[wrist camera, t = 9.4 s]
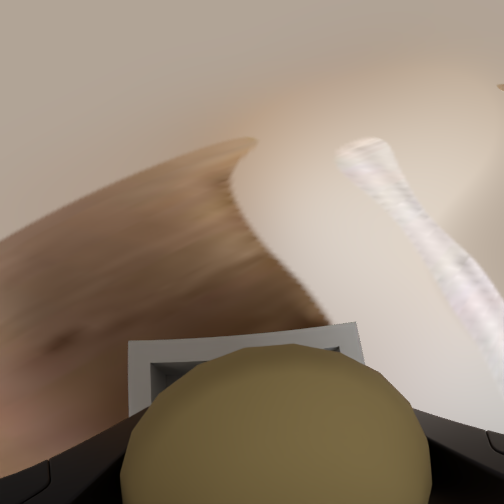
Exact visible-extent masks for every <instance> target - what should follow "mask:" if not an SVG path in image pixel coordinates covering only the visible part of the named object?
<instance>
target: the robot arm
mask: <svg viewBox="0 0 504 504" xmlns="http://www.w3.org/2000/svg"><path fill="white" fill-rule="evenodd" d="M149 407H150V406H149ZM149 407H146V408H144V409H143V410H141V411H139V412H138V413H136V414H134V415H132V416H130V417H129V418H127V419H125V420H123V421H122V422H120V423H118V424H116V425H114V426H112V427H111V428H109V429H107V430H105V431H103V432H101V433H100V434H98V435H96V436H94V437H92V438H90V439H88V440H86V441H84V442H82V443H80V444H79V445H77V446H75V447H73V448H71V449H69V450H67V451H65V452H63V453H61V454H59V455H56V456H54V457H52V458H50V459H49V461H48V460H45V461H43V462H41V463H39V464H36V465H34V466H32V467H29V468H27V469H25V470H22V471H20V472H18V473H15V474H12V475H9V476H6V477H3V478H0V504H123V501H122V492H121V482H120V472H121V468H122V465H123V461H124V457H125V454H126V450H127V446H128V443H129V439H130V436H131V432H132V430H133V429H134V428H135V426H136V425H137V423H138V422H139V421H140V419H141V418H142V416H143V415H144V414H145V412H146V411H147V410H148V408H149ZM412 409H413V408H412ZM413 411H414V413H415V415H416V417H417V419H418V421H419V423H420V425H421V427H422V429H423V431H424V434H425V436H426V438H427V441H428V445H429V454H430V464H431V475H432V488H431V492H430V496H429V501H428V504H504V434H500V433H496V432H492V431H485V430H483V429H479V428H476V427H472V426H468V425H465V424H461V423H458V422H454V421H451V420H448V419H445V418H441V417H438V416H435V415H432V414H429V413H426V412H423V411H419V410H417V409H413Z"/></svg>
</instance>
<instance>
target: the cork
mask: <svg viewBox="0 0 504 504" xmlns="http://www.w3.org/2000/svg"><path fill="white" fill-rule="evenodd" d="M120 482H121V492H122V501H123V504H428V501H429V496H430V492H431V488H432V475H431V464H430V454H429V445H428V441H427V438H426V436H425V434H424V431H423V429H422V427H421V425H420V423H419V421H418V419H417V417H416V415H415V413H414V411H413V409H412V407H411V405H410V403H409V402H408V401H407V400H406V399H405V398H404V396H403V395H402V394H400V392H399V391H398V390H397V389H396V388H395V387H394V386H393V385H392V384H391V383H390V382H388V380H387V379H386V378H384V377H383V375H382V374H381V373H379V372H377V371H376V370H373V369H372V368H370V367H368V366H366V365H364V364H362V363H360V362H358V361H356V360H354V359H352V358H350V357H348V356H346V355H344V354H342V353H341V352H336V351H330V350H325V349H319V348H314V347H309V346H304V345H299V344H294V343H293V344H283V345H271V346H259V347H245V348H242V349H240V350H237V351H234V352H232V353H229V354H226V355H224V356H221V357H218V358H215V359H213V360H210V361H207V362H204V363H201V364H199V365H197V366H196V367H194V368H193V369H192V370H190V371H189V372H188V373H186V374H185V375H184V376H182V377H181V378H180V379H178V380H177V381H175V382H174V383H173V384H171V385H170V386H169V387H167V388H166V389H165V390H163V391H162V392H160V393H159V394H158V396H157V397H156V398H155V400H154V401H153V403H152V404H151V405H150V407H149V408H148V410H147V411H146V412H145V414H144V415H143V416H142V418H141V419H140V421H139V422H138V423H137V425H136V426H135V428H134V429H133V430H132V432H131V436H130V439H129V443H128V446H127V450H126V454H125V457H124V461H123V465H122V468H121V472H120Z"/></svg>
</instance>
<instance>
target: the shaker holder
mask: <svg viewBox="0 0 504 504" xmlns="http://www.w3.org/2000/svg"><path fill="white" fill-rule="evenodd" d="M293 343H294V344H299V345H304V346H309V347H314V348H319V349H325V350H330V351H336V352H341V353H342V354H344V355H346V356H348V357H350V358H352V359H354V360H356V361H358V362H360V363H362V364H364V365H365V362H364V357H363V352H362V348H361V343H360V338H359V334H358V329H357V324H356V322H350V323H343V324H336V325H329V326H321V327H313V328H305V329H297V330H288V331H278V332H269V333H258V334H247V335H235V336H222V337H207V338H190V339H169V340H138V341H128V403H129V417H130V416H132V415H134V414H136V413H138V412H139V411H141V410H143V409H144V408H146V407H149V406H150V405H151V404H152V403H153V401H154V400H155V398H156V397H157V396H158V394H159V393H160V392H162V391H163V390H165V389H166V388H167V387H169V386H170V385H171V384H173V383H174V382H175V381H177V380H178V379H180V378H181V377H182V376H184V375H185V374H186V373H188V372H189V371H190V370H192V369H193V368H194V367H196V366H197V365H199V364H201V363H204V362H207V361H210V360H213V359H215V358H218V357H221V356H224V355H226V354H229V353H232V352H234V351H237V350H240V349H242V348H245V347H259V346H271V345H283V344H293Z"/></svg>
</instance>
